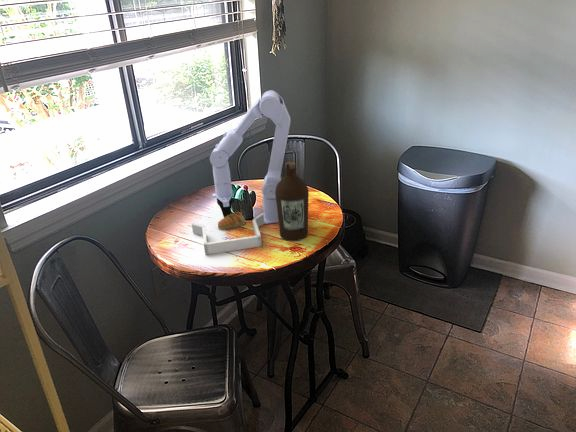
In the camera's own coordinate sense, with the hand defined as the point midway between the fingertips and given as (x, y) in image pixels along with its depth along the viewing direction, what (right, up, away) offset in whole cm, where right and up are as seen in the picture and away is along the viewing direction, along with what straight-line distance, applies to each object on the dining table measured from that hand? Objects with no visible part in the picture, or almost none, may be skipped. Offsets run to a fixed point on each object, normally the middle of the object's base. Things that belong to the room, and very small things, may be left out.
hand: (226, 216), depth 168 cm
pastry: (+3, -3, -3) cm, 5 cm away
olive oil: (+24, -6, -12) cm, 27 cm away
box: (+3, -7, -12) cm, 15 cm away
